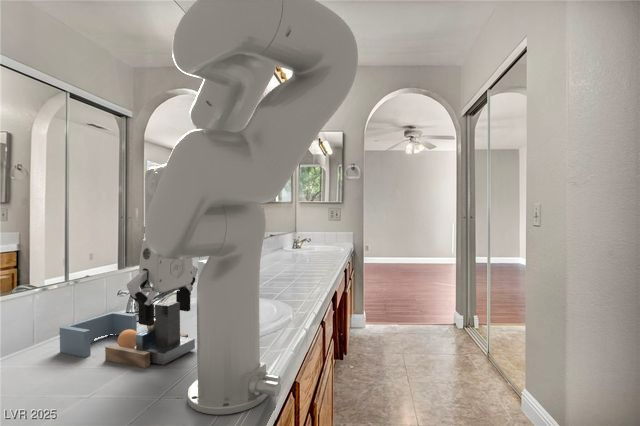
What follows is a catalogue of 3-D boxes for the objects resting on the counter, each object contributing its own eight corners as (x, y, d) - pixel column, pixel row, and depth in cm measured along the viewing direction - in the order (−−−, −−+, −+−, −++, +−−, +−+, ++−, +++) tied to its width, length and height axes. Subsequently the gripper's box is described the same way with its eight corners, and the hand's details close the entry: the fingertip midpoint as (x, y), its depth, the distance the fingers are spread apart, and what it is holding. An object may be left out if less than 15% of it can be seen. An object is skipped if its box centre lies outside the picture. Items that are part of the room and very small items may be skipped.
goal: (136, 336, 85) (136, 314, 85) (84, 357, 74) (84, 331, 73) (113, 332, 88) (113, 311, 88) (60, 352, 76) (59, 327, 76)
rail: (188, 346, 79) (188, 334, 79) (144, 368, 68) (144, 354, 68) (151, 340, 83) (151, 328, 83) (105, 360, 72) (105, 347, 72)
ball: (143, 347, 79) (143, 328, 79) (127, 354, 75) (127, 334, 75) (129, 344, 80) (129, 325, 80) (112, 351, 77) (112, 331, 76)
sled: (194, 348, 77) (194, 299, 76) (163, 364, 69) (163, 310, 69) (164, 343, 79) (164, 296, 79) (131, 358, 72) (131, 306, 71)
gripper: (145, 235, 64) (145, 334, 65) (210, 228, 80) (209, 307, 81) (113, 233, 67) (113, 328, 67) (182, 227, 83) (181, 303, 84)
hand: (165, 317), depth 74 cm, fingers open, 9 cm apart
